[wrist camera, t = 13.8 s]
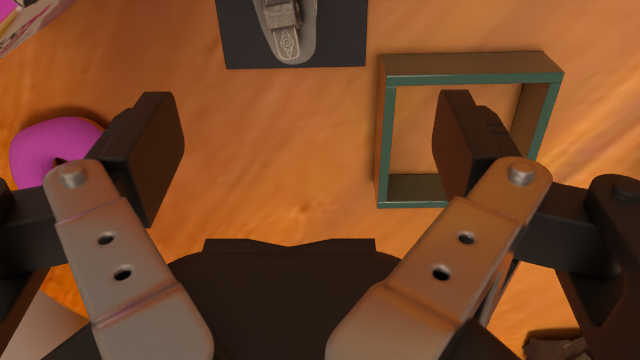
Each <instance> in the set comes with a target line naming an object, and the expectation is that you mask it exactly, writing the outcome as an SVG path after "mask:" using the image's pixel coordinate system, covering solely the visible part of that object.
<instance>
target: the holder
mask: <svg viewBox="0 0 640 360" xmlns="http://www.w3.org/2000/svg"><path fill="white" fill-rule="evenodd" d="M564 73H565V72H564V71H563V70H562V69H561V68H560V67H559V66H558V65H557V64H556V63H555V62H553V61H552V60H551V59H550V58H549V57H548V56H547V55H546V54H545V53H544V52H543V51H527V52H482V53H437V54H393V55H381V58H380V74H379V91H378V107H377V124H376V140H375V157H374V173H373V175H374V176H373V184H374V191H375V198H376V205H377V208H378V209H386V208H445V207H446V206H447V205H448V200H447V197H446V194H445V191H444V188H443V185H442V182H441V178H440V175H439V174H411V175H389V167H390V155H391V144H392V133H393V121H394V110H395V98H396V86H413V85H461V84H509V83H524V85H523V89H522V92H521V96H520V99H519V103H518V107H517V110H516V114H515V117H514V121H513V125H512V128H511V132H510V137H511V138H512V140H513V142H514V143H515V145H516V146H517V148H518V150H519V151H520V153H521V155H522V156H523V158H527V159H531V160H533V161H536V158H537V155H538V152H539V149H540V146H541V143H542V140H543V137H544V134H545V131H546V128H547V125H548V122H549V119H550V116H551V113H552V110H553V107H554V104H555V101H556V98H557V95H558V92H559V89H560V86H561V82H562V79H563V76H564Z"/></svg>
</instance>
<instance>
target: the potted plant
mask: <svg viewBox="0 0 640 360" xmlns="http://www.w3.org/2000/svg"><path fill="white" fill-rule="evenodd" d="M529 341H530V343H529V345H527V346H523V347H522V348H523V350H524V351H525V353H526V354H527V360H594V359H593V357H592V354H591V352H590V350H589V348H588V345H587V343H586V341H585V338H584V337H580V338H579V339H574V341H570V340H562V341H555V340H549V341H547V340H540V341H538V340H537V339H535V338H533V337H530V339H529Z"/></svg>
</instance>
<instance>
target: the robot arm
mask: <svg viewBox="0 0 640 360" xmlns="http://www.w3.org/2000/svg"><path fill="white" fill-rule="evenodd" d="M184 146H185V144H184V135H183V131H182V127H181V123H180V119H179V115H178V111H177V107H176V103H175V99H174V96H173V94H172V93H171V92H144V93H143V94H142V95H141V97H140V98H139V99H138V101H137V102H136V104H135V105H134V106H133V108H127V109H126V110H124V111H123V112H121V113H120V114H118V115H117V116H115V117H114V118H113V120H112V121H111V122H110V124H109V125H108V126H107V129H105V130H104V131H103V133H102V134H101V137H99V138H98V139H97V141H96V142H95V143H94V145H93V146H92V147H91V149H90V150H89V151H88V153H87V154H86V155H85V157H84V158H83V159H77V160H72V161H69V162H66V163H63V164H61V165H59V166H57V167H55V168H53V169H52V170H51V171H49V172H48V173H47V174H46V175H45V177H44V179H43V181H42V185H40V186H36V187H31V188H26V189H20V190H15V191H11V190H10V189H9V187H8V185H7V183H6V182H5V180H4V179H2V178H0V357H1V355H2V354H3V352H4V350H5V348H6V347H7V345H8V343H9V341H10V340H11V338H12V336H13V334H14V332H15V331H16V329H17V327H18V325H19V324H20V322H21V320H22V318H23V316H24V315H25V312H26V310H27V309H28V307H29V306H30V304H31V302H32V300H33V299H34V297H35V295H36V293H37V291H38V290H39V288H40V286H41V284H42V283H43V281H44V279H45V277H46V275H47V274H48V272H49V270H50V268H51V267H54V266H58V265H62V264H66V263H69V265H70V268H71V270H72V273H73V276H74V278H75V281H76V284H77V286H78V289H79V292H80V294H81V297H82V300H83V302H84V305H85V308H86V310H87V313H88V316H89V318H90V321H91V322H89V323H88V324H87V325H85V326H84V327H83V328H81V329H80V330H79V331H78V332H76V333H75V334H74V335H72V336H71V337H70V338H68V339H67V340H66V341H64V342H63V343H62V344H60V345H59V346H58V347H56V348H55V349H54V350H53V351H51V352H50V353H48V354H47V355H46V356H45V357H43V358H42V359H41V360H522V359H520V358H519V357H518V356H517V355H516V354H515V353H514V352H512V351H511V350H510V349H509V348H508V347H507V346H506V345H504V344H503V343H502V342H501V341H500V340H499V339H498V338H496V337H495V336H494V335H493V334H492V333H491V332H490V331H488V330H487V329H486V327H487V325H488V323H489V321H490V318H491V316H492V314H493V312H494V310H495V308H496V306H497V304H498V303H499V301H500V299H501V297H502V295H503V294H504V292H505V290H506V288H507V286H508V285H509V283H510V281H511V279H512V277H513V276H514V274H515V272H516V270H517V268H518V267H519V265H520V263H521V261H524V262H528V263H532V264H536V265H540V266H544V267H548V268H552V269H555V272H556V275H557V277H558V279H559V281H560V284H561V286H562V288H563V291H564V293H565V295H566V297H567V300H568V302H569V304H570V307H571V309H572V311H573V313H574V316H575V318H576V320H577V322H578V325H579V327H580V329H581V332H582V334H583V336H584V338H585V341H586V343H587V345H588V348H589V350H590V352H591V354H592V357H593V359H594V360H640V181H638V180H636V179H633V178H631V177H627V176H623V175H617V174H604V175H600V176H597V177H595V178H594V179H593V180H592V182H591V184H590V186H589V188H588V189H584V188H579V187H574V186H569V185H564V184H559V183H556V182H552V181H553V178H552V175H551V173H550V171H549V170H548V169H547V168H546V167H544V166H543V165H541V164H540V163H538V162H536V161H533V160H531V159H527V158H523V156H522V155H521V153H520V151H519V150H518V148H517V146H516V145H515V143H514V142H513V140H512V138H511V137H510V135H508V132H507V130H506V128H505V127H503V123H502V122H501V120H500V118H499V117H498V115H497V114H496V113H494V112H493V111H492V110H490V109H489V108H487V107H486V106H477V105H476V104H475V102H474V100H473V98H472V96H471V94H470V93H469V91H468V90H467V89H459V90H441V91H440V94H439V97H438V103H437V109H436V115H435V121H434V128H433V134H432V153H433V157H434V160H435V163H436V166H437V169H438V172H439V175H440V178H441V182H442V185H443V188H444V191H445V194H446V197H447V200H448V205H447V206H446V207H445V208H444V210H443V211H442V212H441V213H440V214H439V216H438V217H437V218H436V219H435V220H434V222H433V223H432V224H431V225H430V226H429V228H428V229H427V230H426V231H425V232H424V234H423V235H422V236H421V237H420V238H419V240H418V241H417V242H416V243H415V244H414V246H413V247H412V248H411V249H410V250H409V252H408V253H407V254H406V255H405V256H404V258H403V259H399V258H397V257H395V256H392V255H389V254H386V253H383V252H378V251H376V246H375V239H328V240H323V241H318V242H313V243H308V244H302V245H297V246H291V247H287V246H281V245H276V244H271V243H266V242H261V241H256V240H251V239H206V240H205V243H204V247H203V250H202V252H197V253H194V254H190V255H187V256H184V257H182V258H179V259H177V260H175V261H173V262H171V263H169V264H166V262H165V261H164V259H163V257H162V256H161V254H160V253H159V251H158V249H157V248H156V246H155V244H154V243H153V241H152V239H151V238H150V236H149V234H148V233H147V231H146V229H145V228H151V226H152V223H153V221H154V219H155V217H156V215H157V212H158V210H159V208H160V206H161V204H162V201H163V199H164V197H165V195H166V192H167V190H168V188H169V186H170V184H171V181H172V179H173V177H174V175H175V173H176V170H177V168H178V166H179V164H180V161H181V159H182V157H183V154H184Z"/></svg>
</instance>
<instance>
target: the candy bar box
mask: <svg viewBox="0 0 640 360" xmlns="http://www.w3.org/2000/svg"><path fill="white" fill-rule="evenodd" d="M75 1H76V0H0V59H1V58H2V57H3V56H5V55H6V54H8V53H9V52H10V51H12V50H13V49H15V48H16V47H17V46H19V45H20V44H22V43H23V42H24V41H26V40H27V39H28V38H30V37H31V36H33V35H34V34H35V33H37V32H38V31H40V30H41V29H42V28H44V27H45V26H47V25H49V24H50V23H51V22H52V21H53V20H54V19H55V18H57V17H58V16H59V15H60V14H61V13H62V12H64V11H65V10H66V9H67V8H68V7H69V6H70V5H72V4H73V3H74V2H75Z"/></svg>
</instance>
